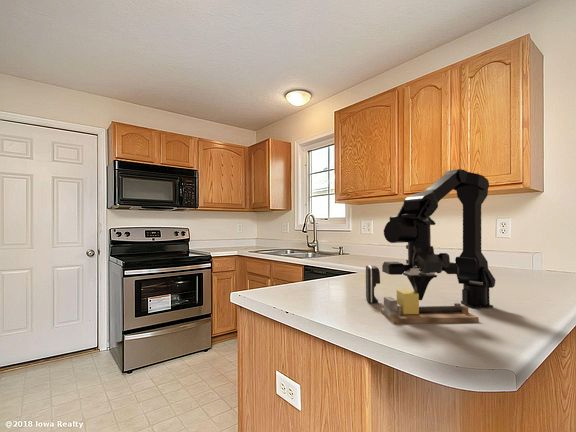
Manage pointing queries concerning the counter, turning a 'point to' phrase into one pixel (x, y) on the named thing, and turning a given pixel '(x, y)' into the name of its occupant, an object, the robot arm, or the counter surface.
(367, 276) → the black silver-edged device
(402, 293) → the pale yellow cube
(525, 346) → the counter surface
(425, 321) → the sliding clamp fixture
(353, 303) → the counter surface
